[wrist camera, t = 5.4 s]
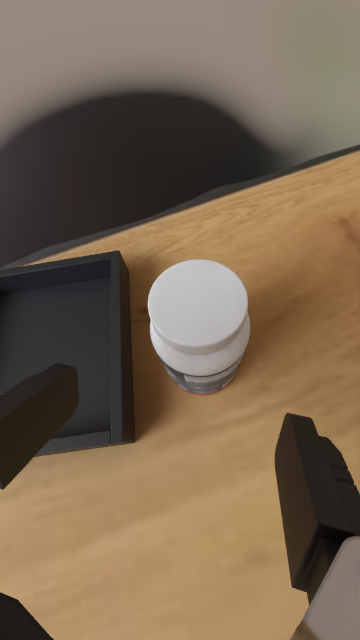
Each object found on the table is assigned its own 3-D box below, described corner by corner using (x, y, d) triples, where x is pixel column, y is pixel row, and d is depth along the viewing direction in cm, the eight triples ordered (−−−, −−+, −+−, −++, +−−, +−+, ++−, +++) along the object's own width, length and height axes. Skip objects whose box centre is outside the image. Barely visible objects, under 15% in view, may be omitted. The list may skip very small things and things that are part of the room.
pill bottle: (161, 337, 22) (129, 263, 13) (225, 321, 22) (237, 237, 13) (174, 405, 19) (146, 371, 10) (247, 387, 19) (281, 338, 10)
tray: (128, 270, 25) (119, 250, 23) (135, 442, 18) (123, 442, 16) (-12, 293, 26) (-38, 276, 23) (-58, 469, 19) (-102, 473, 16)
